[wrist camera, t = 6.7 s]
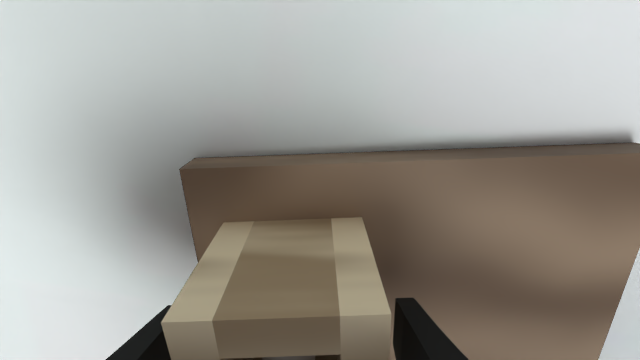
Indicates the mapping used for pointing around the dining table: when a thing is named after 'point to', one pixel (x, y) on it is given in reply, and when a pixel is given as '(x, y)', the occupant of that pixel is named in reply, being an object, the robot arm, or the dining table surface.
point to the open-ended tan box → (283, 295)
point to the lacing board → (461, 233)
